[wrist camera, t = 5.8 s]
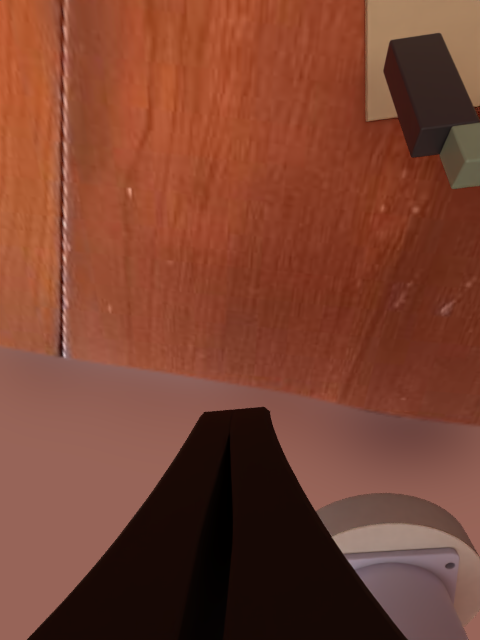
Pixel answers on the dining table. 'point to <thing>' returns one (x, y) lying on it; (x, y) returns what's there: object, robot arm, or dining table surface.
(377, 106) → the mat
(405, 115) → the tray
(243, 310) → the dining table surface
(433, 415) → the dining table surface
